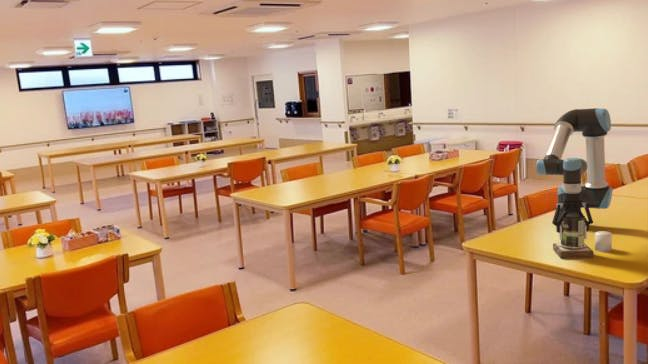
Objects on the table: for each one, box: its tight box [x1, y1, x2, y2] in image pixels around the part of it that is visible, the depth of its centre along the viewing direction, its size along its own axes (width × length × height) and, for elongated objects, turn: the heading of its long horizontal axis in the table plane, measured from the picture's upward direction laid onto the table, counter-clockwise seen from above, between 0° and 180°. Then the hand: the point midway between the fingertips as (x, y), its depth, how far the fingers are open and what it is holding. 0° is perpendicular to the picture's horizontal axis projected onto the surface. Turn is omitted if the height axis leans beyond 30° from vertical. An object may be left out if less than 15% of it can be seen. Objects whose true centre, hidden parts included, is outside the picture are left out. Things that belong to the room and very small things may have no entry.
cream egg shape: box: [594, 230, 613, 253], centre depth 258 cm, size 7×7×8 cm
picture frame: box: [552, 242, 594, 260], centre depth 256 cm, size 14×14×3 cm
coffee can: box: [560, 214, 586, 249], centre depth 255 cm, size 10×10×14 cm
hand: (572, 238), depth 255 cm, fingers closed on coffee can, 10 cm apart
